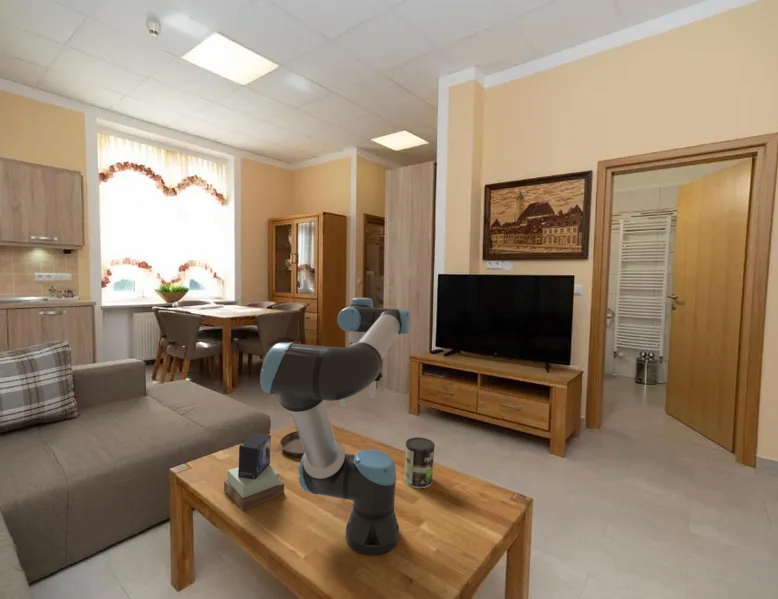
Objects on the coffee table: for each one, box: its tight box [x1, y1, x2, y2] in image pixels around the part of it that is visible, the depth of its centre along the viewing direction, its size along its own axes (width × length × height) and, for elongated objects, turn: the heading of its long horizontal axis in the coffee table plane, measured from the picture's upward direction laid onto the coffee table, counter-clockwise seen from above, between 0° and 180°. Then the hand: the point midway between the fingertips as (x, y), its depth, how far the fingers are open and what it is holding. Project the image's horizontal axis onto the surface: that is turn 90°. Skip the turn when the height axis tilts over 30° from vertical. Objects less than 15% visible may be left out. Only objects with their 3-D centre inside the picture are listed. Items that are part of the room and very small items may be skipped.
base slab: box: [223, 479, 285, 511], centre depth 129 cm, size 14×14×4 cm
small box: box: [238, 432, 272, 479], centre depth 128 cm, size 11×6×10 cm, turn 172°
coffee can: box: [403, 437, 436, 490], centre depth 140 cm, size 10×10×14 cm
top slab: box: [227, 464, 280, 498], centre depth 128 cm, size 12×12×4 cm
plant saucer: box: [279, 430, 305, 458], centre depth 162 cm, size 21×21×3 cm
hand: (358, 402), depth 136 cm, fingers open, 13 cm apart
